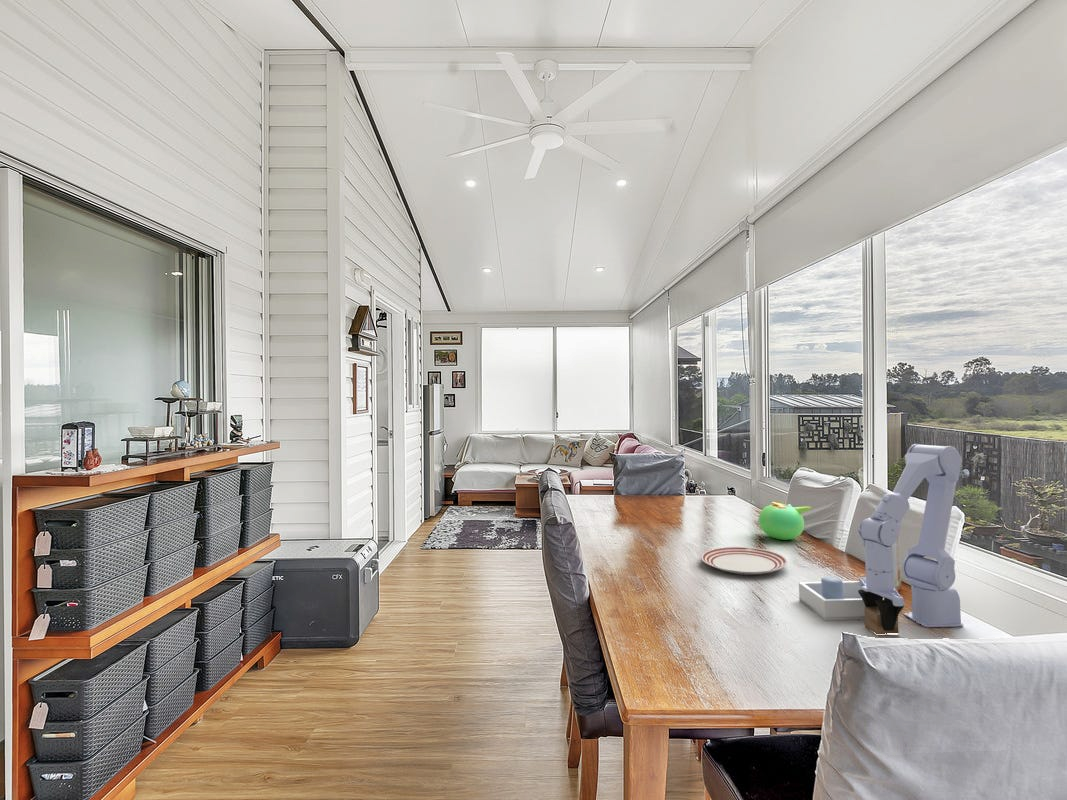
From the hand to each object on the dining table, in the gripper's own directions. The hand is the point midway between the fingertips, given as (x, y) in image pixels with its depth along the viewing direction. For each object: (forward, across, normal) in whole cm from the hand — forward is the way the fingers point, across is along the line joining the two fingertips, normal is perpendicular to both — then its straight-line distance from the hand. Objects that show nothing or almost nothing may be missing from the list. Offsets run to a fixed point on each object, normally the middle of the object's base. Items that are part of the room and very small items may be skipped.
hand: (881, 625), depth 132 cm
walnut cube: (+1, 0, 0) cm, 1 cm away
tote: (+1, -14, -1) cm, 14 cm away
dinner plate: (+2, -53, -14) cm, 55 cm away
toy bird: (+2, -87, +14) cm, 88 cm away
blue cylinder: (+1, -14, -4) cm, 15 cm away
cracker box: (+2, -25, +16) cm, 30 cm away
